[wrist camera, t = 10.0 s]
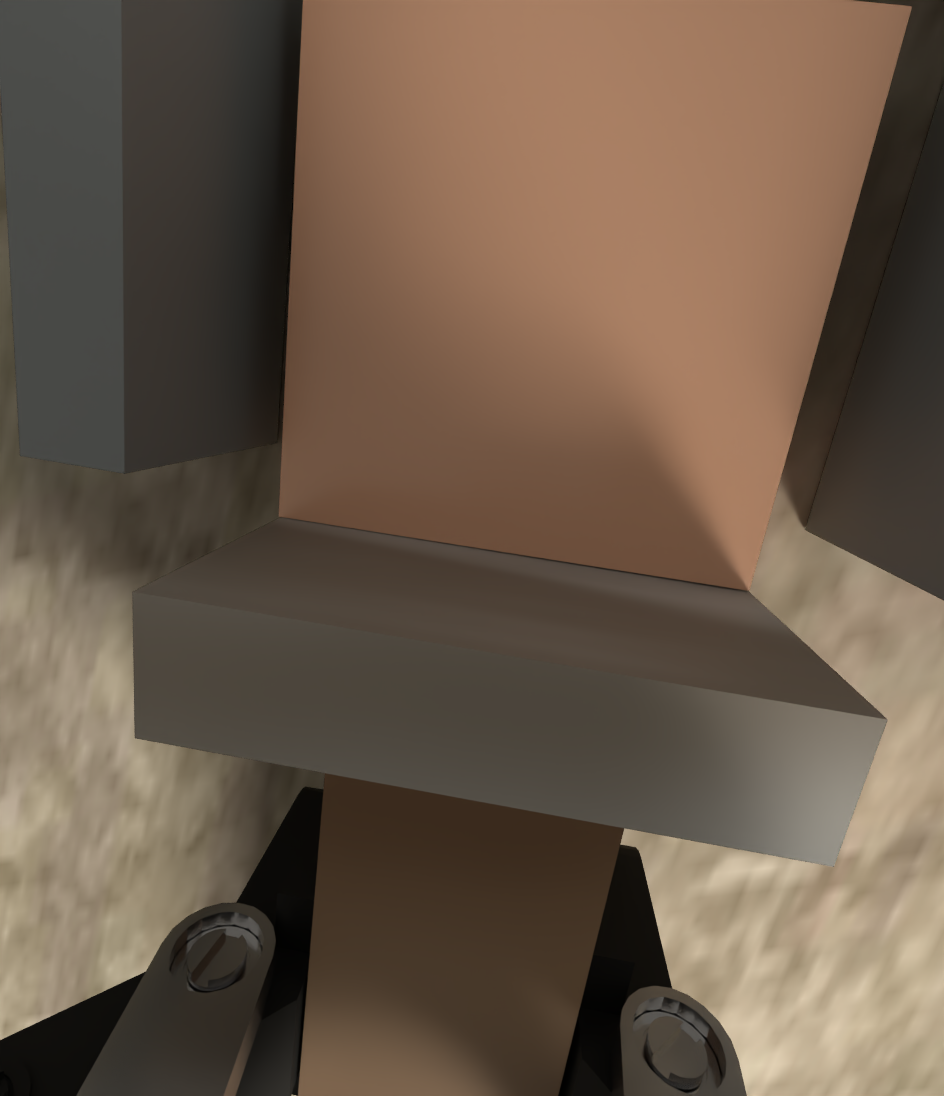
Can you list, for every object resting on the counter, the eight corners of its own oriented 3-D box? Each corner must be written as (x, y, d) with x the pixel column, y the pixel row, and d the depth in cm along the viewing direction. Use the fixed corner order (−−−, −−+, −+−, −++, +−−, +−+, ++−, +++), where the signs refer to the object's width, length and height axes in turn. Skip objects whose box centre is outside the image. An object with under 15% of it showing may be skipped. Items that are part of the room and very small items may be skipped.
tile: (827, 91, 9) (912, 5, 7) (709, 553, 10) (749, 590, 9) (354, 41, 9) (305, -54, 7) (323, 493, 11) (278, 516, 9)
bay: (1256, -230, 7) (2128, -979, 3) (954, 554, 10) (1235, 663, 6) (145, -333, 8) (-230, -1036, 4) (144, 421, 10) (-83, 438, 7)
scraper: (572, 1123, 14) (594, 1521, 9) (277, 1060, 14) (145, 1408, 9) (717, 562, 10) (888, 720, 5) (315, 499, 10) (131, 592, 6)
